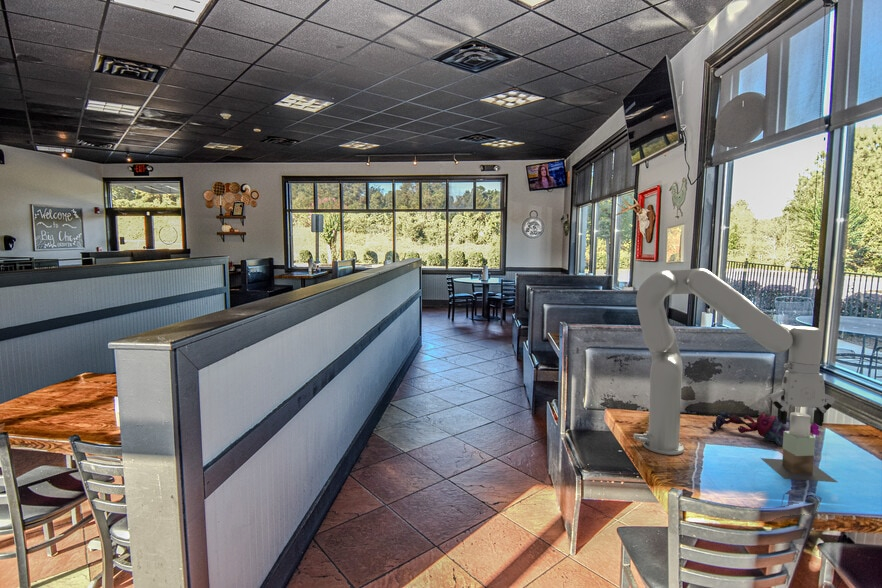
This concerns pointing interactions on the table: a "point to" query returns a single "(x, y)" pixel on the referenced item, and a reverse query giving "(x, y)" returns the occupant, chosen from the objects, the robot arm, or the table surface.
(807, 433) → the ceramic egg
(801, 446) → the block top
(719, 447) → the table surface
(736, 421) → the toy
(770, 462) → the mat
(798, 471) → the block bottom
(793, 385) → the robot arm
